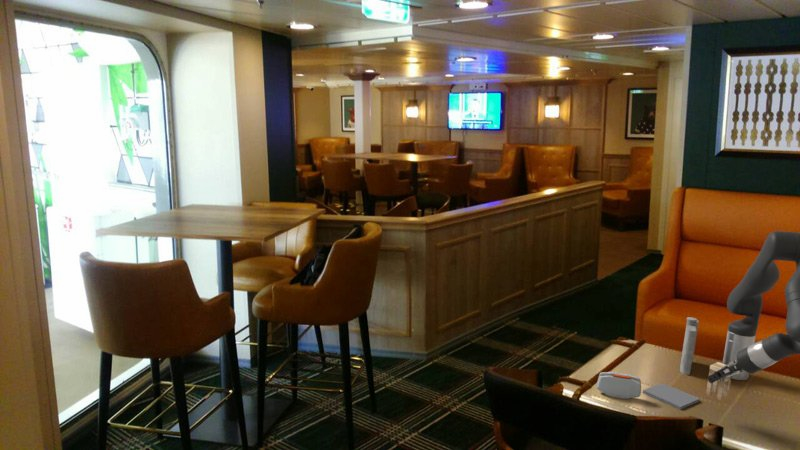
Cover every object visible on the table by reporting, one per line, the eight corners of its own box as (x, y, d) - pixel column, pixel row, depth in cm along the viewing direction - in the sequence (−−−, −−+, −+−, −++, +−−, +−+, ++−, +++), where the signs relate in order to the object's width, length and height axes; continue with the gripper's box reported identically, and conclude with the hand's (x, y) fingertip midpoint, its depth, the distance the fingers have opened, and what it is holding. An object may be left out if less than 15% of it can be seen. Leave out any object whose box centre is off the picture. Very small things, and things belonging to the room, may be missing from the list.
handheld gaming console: (639, 398, 214) (642, 376, 213) (640, 401, 211) (643, 379, 210) (595, 390, 218) (598, 369, 216) (596, 394, 215) (598, 372, 214)
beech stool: (713, 390, 204) (718, 362, 202) (728, 396, 200) (732, 367, 198) (705, 394, 201) (710, 365, 199) (720, 400, 198) (725, 370, 196)
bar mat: (662, 385, 225) (662, 382, 225) (699, 401, 214) (699, 398, 214) (642, 392, 218) (643, 390, 218) (680, 409, 207) (680, 406, 207)
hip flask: (689, 375, 235) (697, 325, 231) (677, 373, 237) (685, 323, 233) (692, 361, 249) (699, 314, 245) (681, 359, 251) (688, 311, 247)
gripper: (761, 341, 195) (717, 363, 207) (738, 349, 187) (694, 372, 199) (776, 363, 192) (731, 384, 204) (754, 372, 184) (708, 394, 196)
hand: (713, 378), depth 201 cm, fingers closed on beech stool, 4 cm apart
